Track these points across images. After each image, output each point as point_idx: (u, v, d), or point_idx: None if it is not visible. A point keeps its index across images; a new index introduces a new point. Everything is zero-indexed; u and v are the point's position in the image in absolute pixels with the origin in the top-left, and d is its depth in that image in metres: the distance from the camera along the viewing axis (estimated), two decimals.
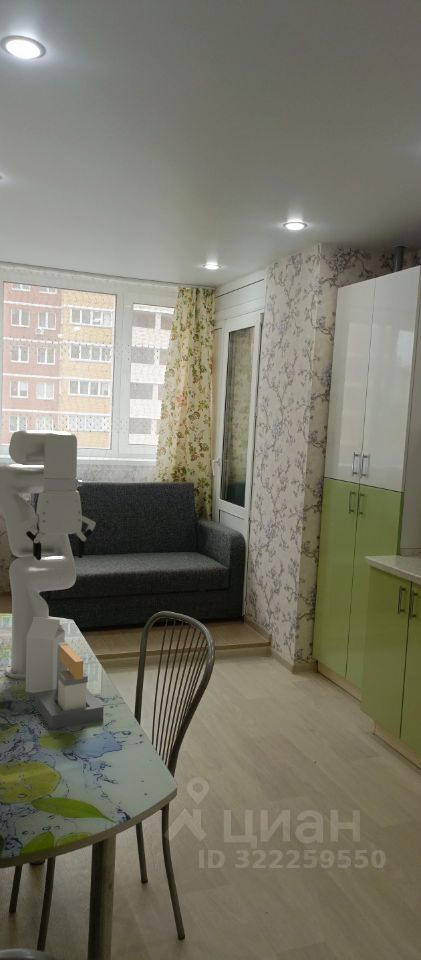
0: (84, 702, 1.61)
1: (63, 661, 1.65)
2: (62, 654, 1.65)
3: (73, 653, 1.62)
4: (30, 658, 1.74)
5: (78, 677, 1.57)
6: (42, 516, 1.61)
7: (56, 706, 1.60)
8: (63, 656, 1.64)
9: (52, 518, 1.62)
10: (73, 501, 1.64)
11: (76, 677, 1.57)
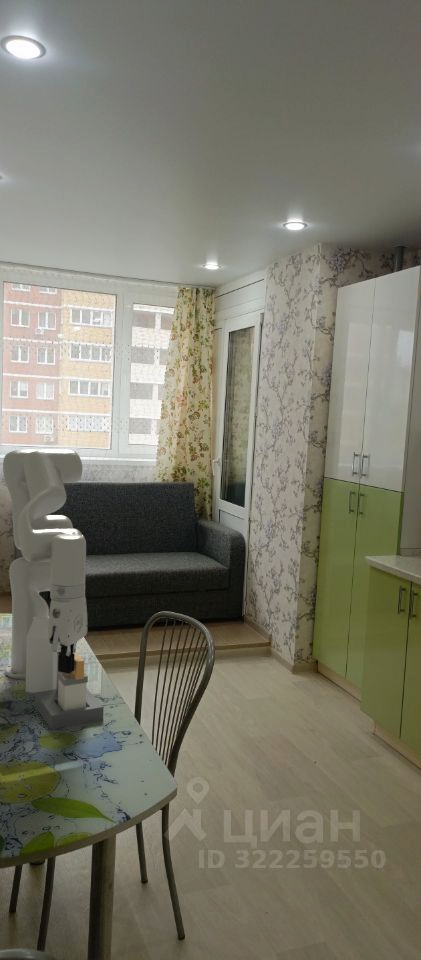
0: (84, 702, 1.61)
1: None
2: None
3: (74, 653, 1.62)
4: (30, 658, 1.74)
5: (79, 677, 1.58)
6: None
7: (56, 706, 1.60)
8: None
9: None
10: None
11: (77, 677, 1.57)
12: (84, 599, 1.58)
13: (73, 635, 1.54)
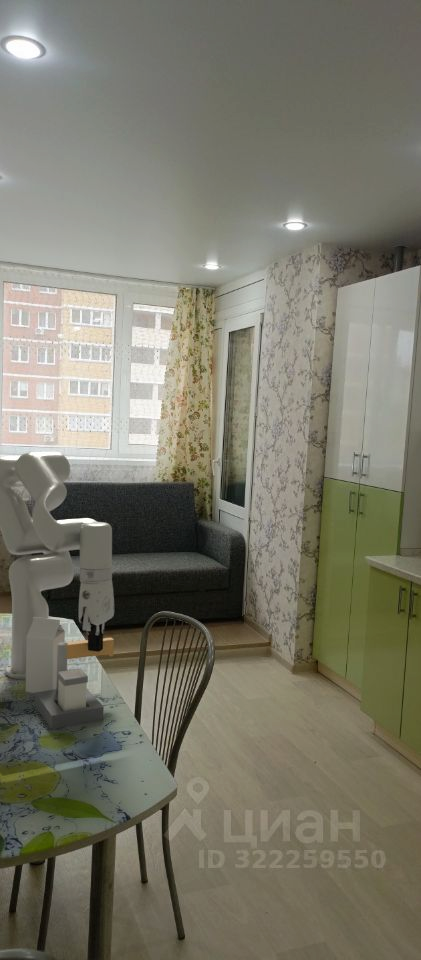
0: (84, 702, 1.61)
1: (79, 655, 1.69)
2: (75, 649, 1.69)
3: None
4: (30, 658, 1.74)
5: None
6: None
7: (56, 706, 1.60)
8: (78, 650, 1.69)
9: None
10: None
11: None
12: (111, 583, 1.70)
13: (102, 615, 1.65)
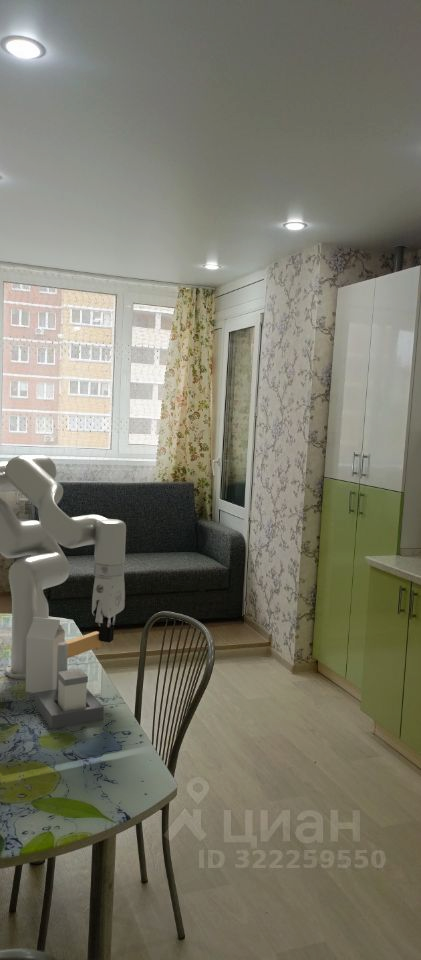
0: (84, 702, 1.61)
1: (76, 652, 1.71)
2: (74, 647, 1.70)
3: (81, 636, 1.74)
4: (30, 658, 1.74)
5: None
6: None
7: (56, 706, 1.60)
8: (76, 647, 1.71)
9: None
10: None
11: None
12: (123, 577, 1.78)
13: (114, 608, 1.74)
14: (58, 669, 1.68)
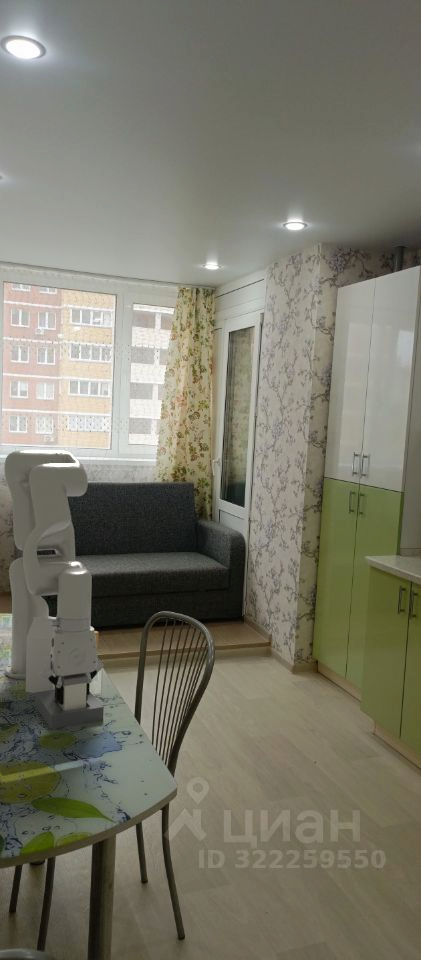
0: (84, 702, 1.61)
1: None
2: None
3: None
4: (30, 658, 1.74)
5: None
6: None
7: (56, 706, 1.60)
8: None
9: None
10: None
11: None
12: (90, 635, 1.60)
13: (67, 667, 1.58)
14: None
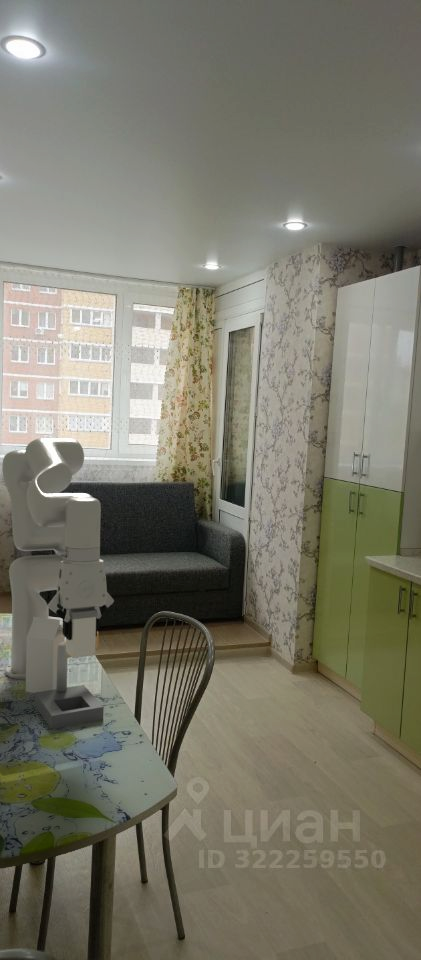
0: (93, 638, 1.53)
1: None
2: None
3: None
4: (30, 658, 1.74)
5: None
6: None
7: (56, 706, 1.60)
8: None
9: None
10: None
11: None
12: (99, 567, 1.52)
13: (76, 599, 1.50)
14: (58, 669, 1.68)
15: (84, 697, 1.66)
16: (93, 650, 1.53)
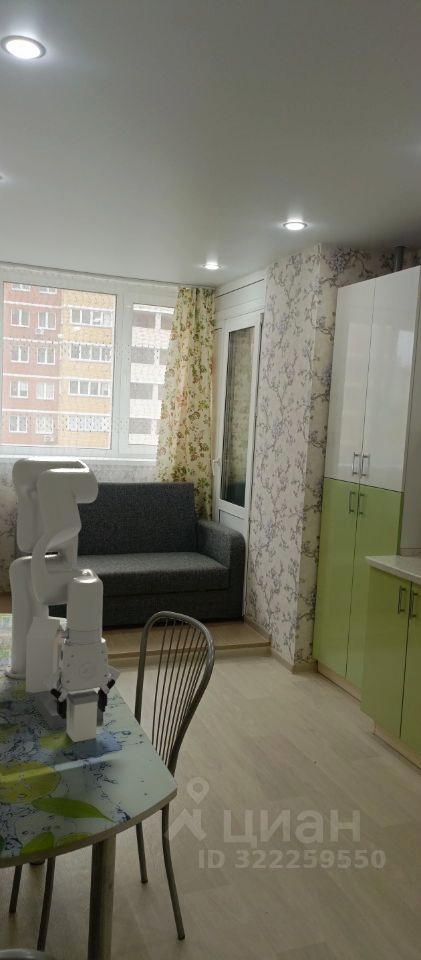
0: (94, 722, 1.52)
1: None
2: None
3: None
4: (30, 658, 1.74)
5: None
6: None
7: (56, 706, 1.60)
8: None
9: None
10: None
11: None
12: (101, 647, 1.51)
13: (77, 682, 1.49)
14: (58, 669, 1.68)
15: None
16: (94, 734, 1.52)
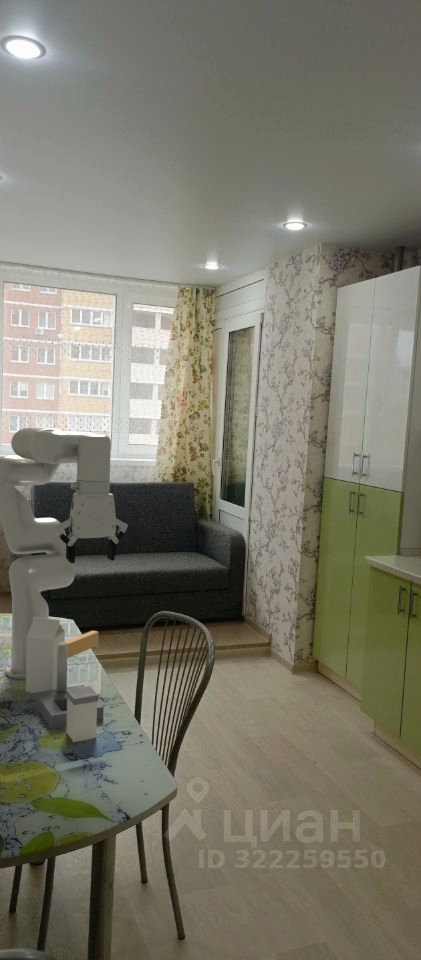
0: (94, 722, 1.52)
1: (75, 652, 1.71)
2: (73, 647, 1.70)
3: (80, 636, 1.74)
4: (30, 658, 1.74)
5: None
6: None
7: (56, 706, 1.60)
8: (75, 647, 1.71)
9: None
10: None
11: None
12: (109, 499, 1.62)
13: (87, 529, 1.60)
14: (58, 669, 1.68)
15: None
16: (94, 734, 1.52)
